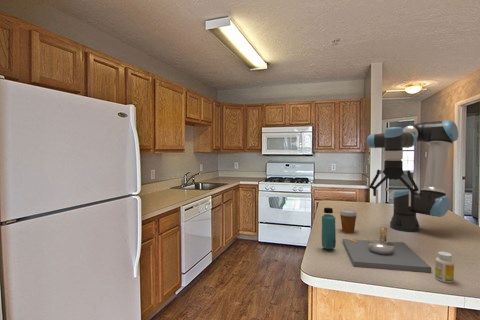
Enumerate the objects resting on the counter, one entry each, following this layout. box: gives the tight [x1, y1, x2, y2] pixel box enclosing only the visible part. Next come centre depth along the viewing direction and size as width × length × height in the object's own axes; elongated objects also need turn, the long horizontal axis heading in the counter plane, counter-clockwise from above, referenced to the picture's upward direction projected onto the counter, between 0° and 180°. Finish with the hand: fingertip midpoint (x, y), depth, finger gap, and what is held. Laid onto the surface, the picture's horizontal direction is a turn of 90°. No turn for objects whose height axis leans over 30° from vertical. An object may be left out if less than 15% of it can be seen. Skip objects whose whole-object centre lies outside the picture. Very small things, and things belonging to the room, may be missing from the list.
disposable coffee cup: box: [339, 208, 358, 234], centre depth 152 cm, size 10×10×12 cm
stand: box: [342, 238, 432, 273], centre depth 118 cm, size 28×28×2 cm
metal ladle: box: [368, 226, 394, 255], centre depth 121 cm, size 19×10×7 cm, turn 147°
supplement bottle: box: [434, 251, 455, 284], centre depth 95 cm, size 5×5×10 cm
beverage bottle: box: [321, 207, 337, 250], centre depth 125 cm, size 6×7×20 cm
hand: (392, 204), depth 125 cm, fingers open, 13 cm apart
